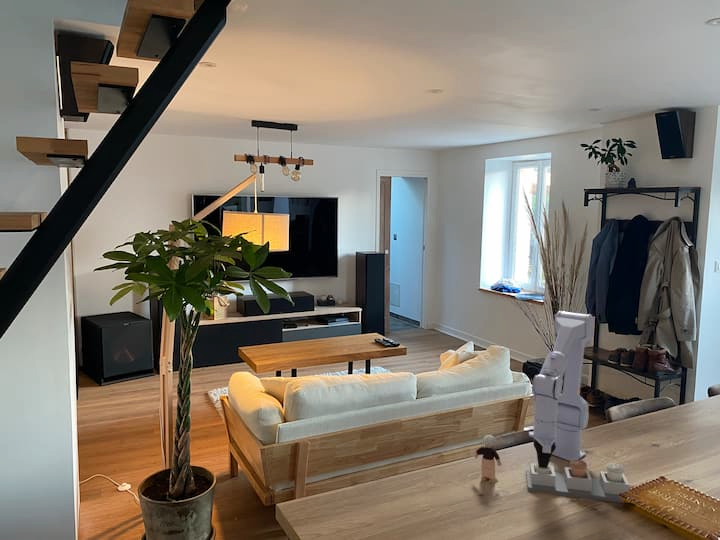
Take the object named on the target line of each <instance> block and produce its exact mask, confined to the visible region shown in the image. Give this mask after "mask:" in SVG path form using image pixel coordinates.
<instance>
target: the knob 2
mask: <svg viewBox="0 0 720 540" xmlns="http://www.w3.org/2000/svg"><path fill="white" fill-rule="evenodd" d="M606 470H607V471H606V472H607V480H608V481H612V482H620V483H621V482H622V474H623V473H624V467H623V466H622V465H621V464H617V463H607V464H606Z"/></svg>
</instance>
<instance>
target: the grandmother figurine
mask: <svg viewBox="0 0 720 540" xmlns="http://www.w3.org/2000/svg"><path fill="white" fill-rule="evenodd" d="M495 441H496V440H495V437H494V436H493V435H492V434H487V435H484V437H483V438H482V441H481V442H482V443H481V444H482V445H484V446H481V447H479V448H478V449H476V450H475V454H474V456H473V457H474V458H475V459H477V458H478V457H479V456H482V457H481V465H480V467H481V478H480V480H481V481H484V482H486V481H488V482H489V483H491V484H494V483H497V482H498V481H499V480H498V478H497V477H496V465H498V466H499V467H500V466H502V463H501V458H500V455H499V454H498V451H496V449H495V448H493V447H494V443H495ZM496 463H497V464H496Z"/></svg>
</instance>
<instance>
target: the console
mask: <svg viewBox="0 0 720 540" xmlns="http://www.w3.org/2000/svg"><path fill="white" fill-rule="evenodd" d="M536 464H537V463H533V462H532V463H530V464H529V465H530V466H529V469H525V478H526V486H527V487H526V488H527V491H528V492H534V493H542V494H543V493H544V494H550V495H558V496H567V497H574V498H583V499H589V500H591V499H592V500H598V501H604V502H605V501H607V502H614V503H621V504H623V503H622V502H623V501H622V499H621V498H620V497H619V494H620V493H624V492H627V491H629V489H630V487H631V486H630V484H629V483H630V482H629V481H628V479H627V477H626V475H625V473H622V482H621V483H620V482H612V481H608V480H607V471H601V470H600V471H599V477H592V476H591V474H590V470H589V469H586V472H585V478H578V477H573V476H571V467H568V466H564V472H563V473H559V472H555V467H554V465H549V464H548V465H549V466H550V467H551V470H550V474H545V473H536V469H535V465H536Z"/></svg>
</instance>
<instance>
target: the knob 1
mask: <svg viewBox="0 0 720 540" xmlns="http://www.w3.org/2000/svg"><path fill="white" fill-rule="evenodd" d="M535 464H536V465H535V469H536V473H545V474H550V470H551V467H550V466H549V464H548V467H547V468H540V467H539V465H538V462H537V463H535Z"/></svg>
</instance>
